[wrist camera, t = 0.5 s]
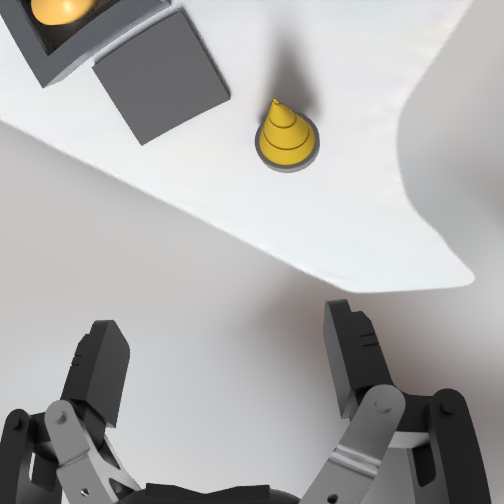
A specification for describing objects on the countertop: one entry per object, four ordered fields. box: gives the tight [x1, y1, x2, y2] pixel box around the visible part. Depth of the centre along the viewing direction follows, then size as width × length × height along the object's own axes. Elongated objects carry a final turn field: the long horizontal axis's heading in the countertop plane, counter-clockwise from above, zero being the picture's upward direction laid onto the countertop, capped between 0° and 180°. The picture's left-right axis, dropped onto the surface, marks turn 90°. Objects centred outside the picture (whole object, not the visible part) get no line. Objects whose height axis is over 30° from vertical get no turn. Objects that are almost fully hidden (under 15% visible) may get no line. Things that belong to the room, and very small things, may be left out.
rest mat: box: [92, 11, 230, 146], centre depth 23 cm, size 9×9×1 cm
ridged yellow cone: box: [255, 99, 320, 173], centre depth 24 cm, size 5×5×10 cm
